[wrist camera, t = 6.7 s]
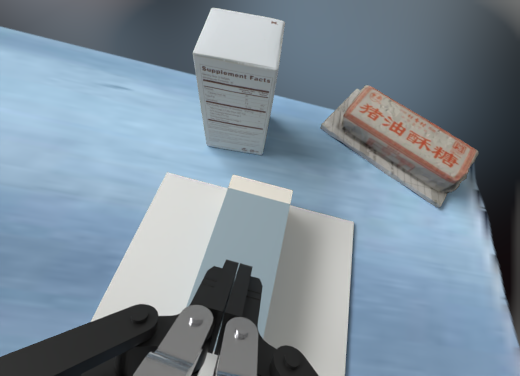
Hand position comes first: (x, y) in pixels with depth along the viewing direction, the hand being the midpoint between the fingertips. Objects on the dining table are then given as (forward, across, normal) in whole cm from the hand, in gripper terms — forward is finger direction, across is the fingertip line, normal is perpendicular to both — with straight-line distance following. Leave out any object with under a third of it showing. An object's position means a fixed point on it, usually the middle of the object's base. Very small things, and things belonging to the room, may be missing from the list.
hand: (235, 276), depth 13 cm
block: (+3, 0, +9) cm, 10 cm away
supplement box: (+22, +5, -6) cm, 23 cm away
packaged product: (+25, -16, -8) cm, 31 cm away
